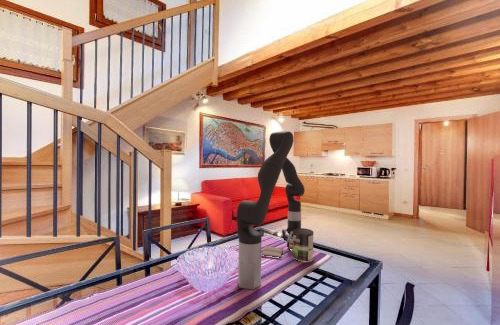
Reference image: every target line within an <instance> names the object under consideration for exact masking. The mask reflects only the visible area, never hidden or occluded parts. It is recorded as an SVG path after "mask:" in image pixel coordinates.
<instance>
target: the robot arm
mask: <svg viewBox="0 0 500 325" xmlns="http://www.w3.org/2000/svg"><path fill="white" fill-rule="evenodd" d="M268 140H269V145H270V148H271V150H272V152H273V153H272V154H271V155H270V156H268V157H267V158H266V159H265V160H264V161H263V162H262V164H261V166H260V168H259V170H258V173H257V182H258V185H259V189H260V192H259V197H258V199H257V201H254V200H242V201H240V202H239V204H238V206H237V208H236V227H237V228H236V230H237V235H238V236H237V237H238V260H237V262H238V268H237V269H238V270H237V271H238V274H237V275H238V276H237V278H238V279H237V280H238V281H237V283H238V288H241V289H249V290H255V289H256V288H258V287H260V286H261V284H262V257H261V254H262V233H261V232H259V231H258V230H257V229H256V228H254V226H261V225H262V224H263V223H264V221H265V219H266V217H267V214H268V210H269V208H270V203H271V199H272V196H273V194H274V189H275V187H276V185H277V183H278V180H279V178H280V175H281V172H282V173H283V177H284V179H285V182H286V183H287V184H286V185H285V195H286V199H287V205H288V206H287V207H288V208H287V209H288V210H287V228H284V229H282V230H281V233H282V237H283V241H284V242H286V247H288V248H289V241H290V239H292V238H293V230H294V229H297V228H302V203H301V201H300V200H298V199H296V198H295V197H303V196H304V194H305V186H304V185H303V182H302V181H301V179H300V178H299V176H298V173H297V169H296V167H295V165H294V163H293V162H292V161H291V160H290V159H289V158H288V154H290V152H291V150H292V147H293V144H294V134H293V133H292V131H289V130H283V131H282V130H281V131H273V132H272V133H270V135H269V139H268ZM286 233H288V237H287V236H286ZM288 248H287V249H288Z"/></svg>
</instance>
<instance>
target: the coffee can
mask: <svg viewBox="0 0 500 325" xmlns="http://www.w3.org/2000/svg"><path fill="white" fill-rule="evenodd" d="M292 239H293V251H292V258H293V257H294V258H295V259H296V260H298V261H297V262H299V261H301V262H300V263H310V262H313V261H314V257H313V255H314V231H313V230H312V229H310V228H305V227H301V228H297V229H294V230H293V237H292ZM296 260H295V261H296Z"/></svg>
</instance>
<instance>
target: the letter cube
mask: <svg viewBox="0 0 500 325" xmlns="http://www.w3.org/2000/svg"><path fill="white" fill-rule="evenodd" d="M289 249H293V238H290V241H289ZM289 249H288V250H289Z"/></svg>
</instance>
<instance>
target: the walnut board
mask: <svg viewBox="0 0 500 325" xmlns="http://www.w3.org/2000/svg"><path fill="white" fill-rule="evenodd" d="M282 250H284V248H283V247H273V246H264V248H263V250H262V251H261V255H264V256H272V257H279V258H281V259H282V256H281V254H282V255H283V251H282Z"/></svg>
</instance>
